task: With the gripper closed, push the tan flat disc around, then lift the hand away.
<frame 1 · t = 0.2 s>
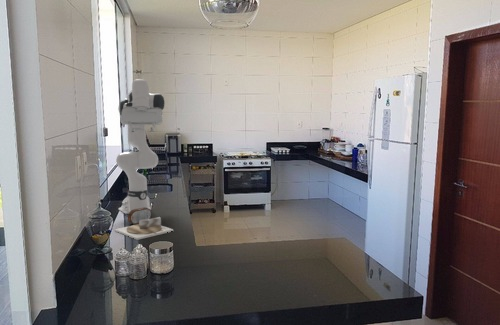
hand: (142, 131, 195), 54 cm above the table, tool tilted 30°, fingers open, 8 cm apart
white flat square board: (144, 231, 209), on the table
bread slice: (140, 223, 227), on the table
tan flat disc: (145, 224, 209), point 3 cm above the table, hinge at 90.0°
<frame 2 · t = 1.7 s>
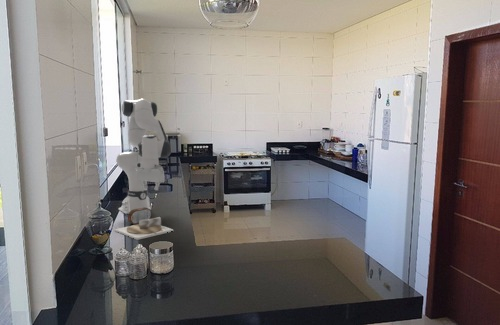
hand: (150, 189, 215), 21 cm above the table, tool pointing down, fingers open, 8 cm apart
nothing on the table moved.
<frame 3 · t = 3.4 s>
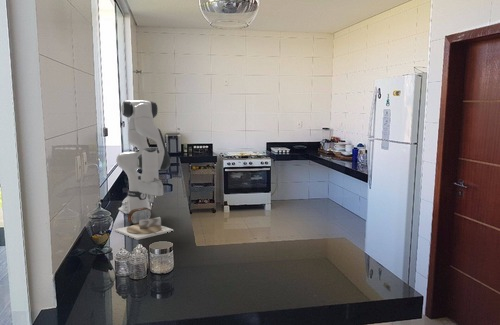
hand: (150, 202, 217), 14 cm above the table, tool pointing down, fingers closed
nothing on the table moved.
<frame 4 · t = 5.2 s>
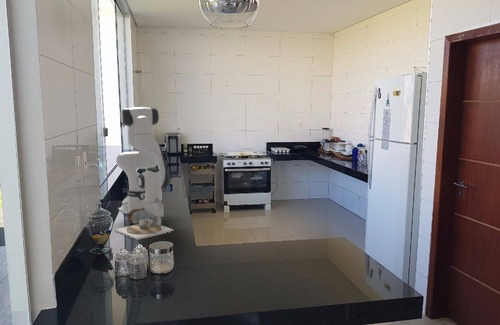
hand: (153, 221, 216), 3 cm above the table, tool pointing down, fingers closed
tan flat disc: (145, 224, 209), point 3 cm above the table, hinge at 89.8°, touching gripper
everything else where it was.
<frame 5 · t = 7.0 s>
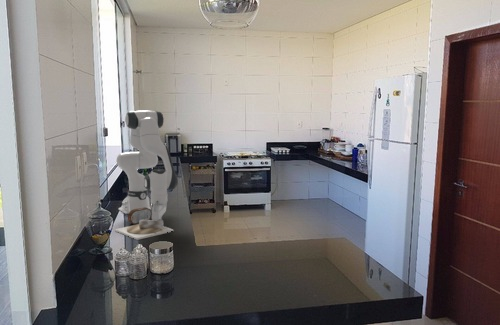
hand: (159, 224, 212), 3 cm above the table, tool pointing down, fingers closed
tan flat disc: (145, 224, 209), point 3 cm above the table, hinge at 45.0°, touching gripper
everything else where it was.
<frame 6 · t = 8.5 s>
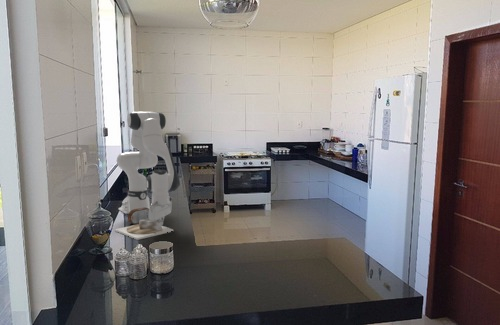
hand: (160, 225, 211), 3 cm above the table, tool pointing down, fingers closed
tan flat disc: (144, 225, 209), point 3 cm above the table, hinge at 24.6°
everything else where it was.
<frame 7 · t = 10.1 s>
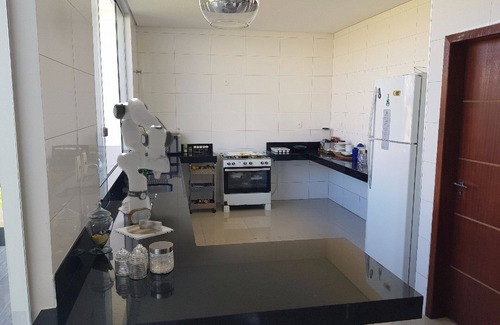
hand: (157, 178, 222), 26 cm above the table, tool pointing down, fingers closed
nothing on the table moved.
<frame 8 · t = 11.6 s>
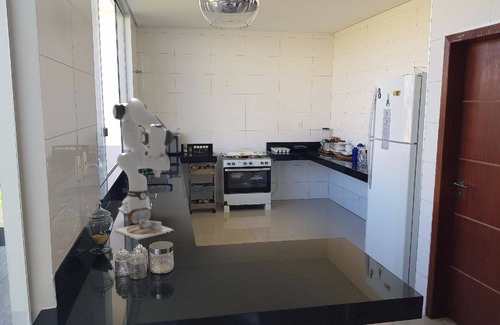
hand: (157, 177, 222), 27 cm above the table, tool pointing down, fingers closed
nothing on the table moved.
at the end: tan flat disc at +25° (first picture: +90°); bread slice moved 0.3 cm from its start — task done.
